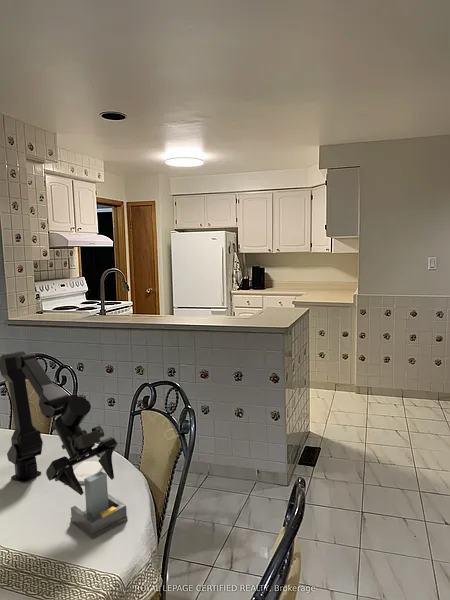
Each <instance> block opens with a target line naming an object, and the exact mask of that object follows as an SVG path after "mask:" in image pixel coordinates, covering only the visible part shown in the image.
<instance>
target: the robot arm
mask: <svg viewBox="0 0 450 600" xmlns="http://www.w3.org/2000/svg"><path fill="white" fill-rule="evenodd" d="M0 374H1V377H2V378H4V380H6V382H7V383H8V388H9V393H10V402H11V406H12V407H11V408H12V409H11V410H12V414H13V420H14V421H13V422H14V427H15V428H14V431H13V433H12V436H11V439H10V440H11V446H10V448H9V450H8V451H7V452H6V455H7V460H8V461H9V462H10V463H12V464H13V465H14V473H15V474H13V475H12V476H10V478H11V479H12V480H14V481H18V482H20V483H27V482H28V481H30V480H32V479H34V478H36V477H38V476H40V475H42V471H41V470H40V471H39V470H38V462H37V456H41V455H42V452H43V443H44V442H43V438H42V436H41V434H42V433H41V431H40V430H39V429H36V427H35V426H34V425H33V420H32V419H33V418H32V413H31V408H30V407H31V406H30V402H29V395H28V387H27V381H26V379H27V380H28V382H29V383H30V385H31V386H32V388H33V390H34V391H35V393H36V394H37V396H38V398H39V400H38V407H39V409H40V413H41V414H42V416H44V417H45V419H46V418H47V419H52V418H56V419H54V420H53V424H52V426H51V430H52V432H53V431H56V433H57V435H58V436H59V439H60V440H61V442H62V445H61V448H62V450H66V452H67V455H68V457H67V456H65V455H63V456H62V457H60V458H59V457H58V458H57V459H55V460H53V461H51V462H50V464H49V466H48V467H47V468H46V471H45V476H46V477H47V479H48V481H52V480H54V482H60V483H62V484H63V485H66V486H68V487H69V488H70V489H72V490H73V491H74V492H76V493H77V494H79V495H80V496H82V495H83V494H85V491H84V490H83V487H82V484H80V483H79V482H78V480H77V478H76V476H75V474H74V467H73V466H75V465H78V464H81V463H82V462H83V461H88V460H89V459H91V458H93V457H95V456H96V457H97V458H99V459H98V461H97V462H99V463H100V464H101V466H102V467H103V469H102V470H104V473H106V474H107V477H108V479H109V478H110V480H114V479H115V475H114V468H113V452H114V451H115V450H116V447H117V446H118V445H119V443H118V441H117V439H116V438H114V437H108V438H106V439H103V440H101V438H103V437H105V432H104V430H103V429H104V428H102V426H101V425H96V426H94V427H91V432H89V433H88V432H87V431H86V430H85V429H82V427H81V426H80V425H82V423H83V422H84V420H85V419H86V417H87V416H88V414H89V413H90V411H91V408H92V407H91V403H90V401H89V400H88V399H87V398H85V397H82V396H79V395H78V394H77V393H73V394H70V395H69V394H68V393H67V391H65V390H64V389H63V388H61V387H59V386H57V385H55V384H54V383H53V381H52V379H50V377H49V375H48V373H46V371H45V369H44V368H43V366H42V365H41V364H40V362H39V361H38V356H37V355H36V353H35V352H34V353H32V352H31V353H30V352H29V353H26V352H25V351H22V350H20V351H16V352H15V351H14V352H11V353H4V354H1V355H0ZM57 416H58V417H57ZM96 444H98V445H97V446H96ZM95 446H96V447H95Z"/></svg>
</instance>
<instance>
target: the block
mask: <svg viewBox="0 0 450 600" xmlns="http://www.w3.org/2000/svg"><path fill="white" fill-rule="evenodd" d="M107 477H108V475H107V473H106V472H104V471H100V472H98V473H96V474H94V475H92V476H90V477H87V478H85V479H84V483H85V484H84V494H85V495H84V497H85V510H86V513H87V515H88V516H90V517H91V518H93V519H94V518H96V517H98V516H99V513H101V512H103V511H105V510H107V509H109V506H108V494H109V493H108V491H109V490H108V478H107Z"/></svg>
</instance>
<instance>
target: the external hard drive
mask: <svg viewBox="0 0 450 600" xmlns="http://www.w3.org/2000/svg"><path fill="white" fill-rule="evenodd" d="M103 470H104V469H103V467H102V466H101V464H100V463H99V461H93V460H90V461H88V460H84V461H82V462H80V463H79V465H78V466H77V467H76V468H75V469H73V471H74V474H75V476H76V478H77V480H78V482H79V483H80V485H85V483H84V479H85V478H87V477H90V476H92V475H94V474H96V473H98V472H100V471H101V472H103Z"/></svg>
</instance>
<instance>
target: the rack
mask: <svg viewBox="0 0 450 600" xmlns="http://www.w3.org/2000/svg"><path fill="white" fill-rule="evenodd" d="M108 506H109V509H107V510H105V511H103V512H101V513H99V516H98V517H96V518H94V519H93V518H91V517H90V516H88V515H87V513H86V509H85V510H82V509H80V508H79V507H78V506H76V505H73V506H71V507H70V514H71V515H70V516H71V517H70V522H71V523H73V524H74V525H75V526H76V527H77V528H78V529H80V530H81V531H83V532H84V533H85V534H86V535H87V536H89V537H90V538H91V539H92V540H94V539H96V538H98V537H99V536H102V535H103V534H105V533H107V532H109V531H110V530H113V529H115V528H116V527H117V526H120V525H121V524H123V523H125V522H127V521H128V520H129V519H128V515H127V514H128V513H127V505H126V504H125V503H123V502H122V501H120V500H119V499H117V498H116V497H113V496H112V495H111V494H109V493H108Z"/></svg>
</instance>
